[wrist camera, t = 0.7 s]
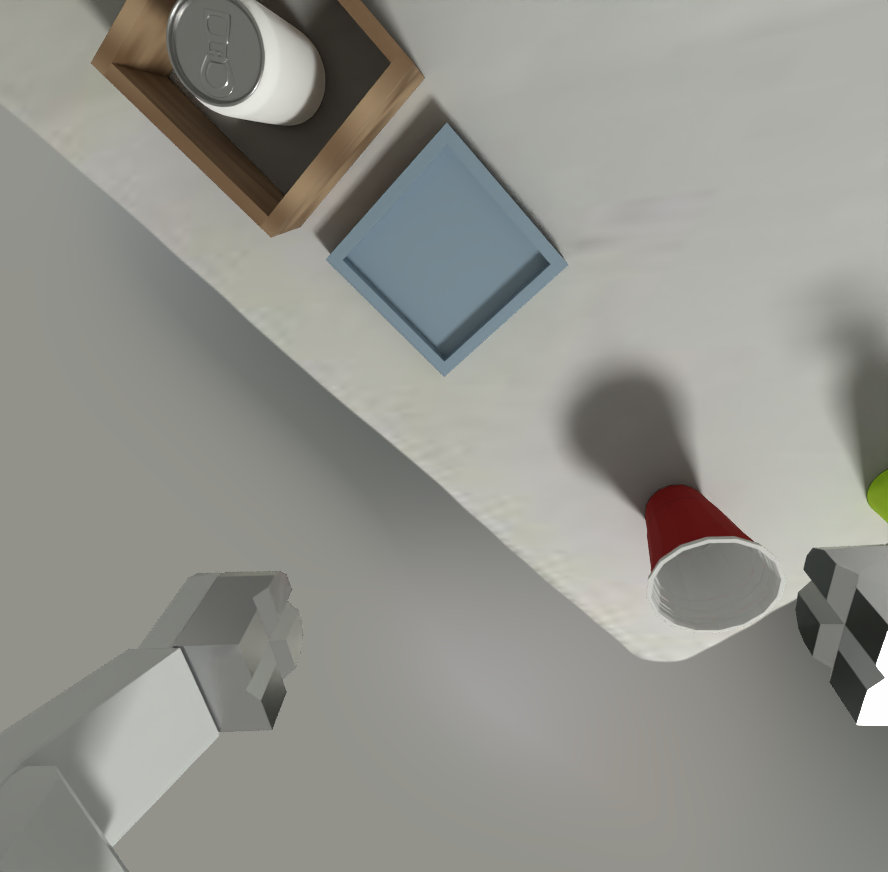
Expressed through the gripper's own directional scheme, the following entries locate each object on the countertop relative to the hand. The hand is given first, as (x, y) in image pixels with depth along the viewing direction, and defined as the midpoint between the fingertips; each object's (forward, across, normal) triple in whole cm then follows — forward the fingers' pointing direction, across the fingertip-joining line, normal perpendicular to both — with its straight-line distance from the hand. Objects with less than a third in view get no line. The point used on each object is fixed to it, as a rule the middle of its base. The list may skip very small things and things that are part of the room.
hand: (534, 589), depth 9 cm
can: (+42, +15, -13) cm, 46 cm away
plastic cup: (+41, -16, +28) cm, 52 cm away
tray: (+42, +4, +1) cm, 42 cm away
